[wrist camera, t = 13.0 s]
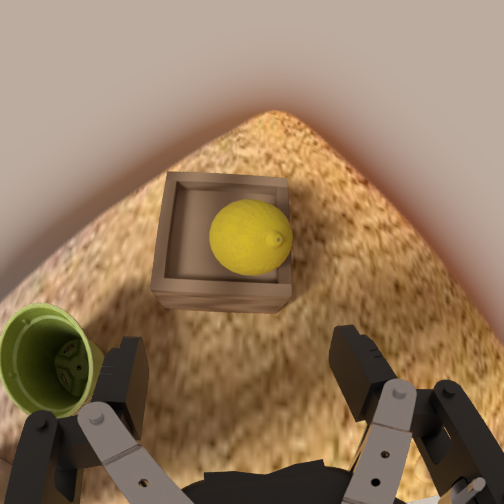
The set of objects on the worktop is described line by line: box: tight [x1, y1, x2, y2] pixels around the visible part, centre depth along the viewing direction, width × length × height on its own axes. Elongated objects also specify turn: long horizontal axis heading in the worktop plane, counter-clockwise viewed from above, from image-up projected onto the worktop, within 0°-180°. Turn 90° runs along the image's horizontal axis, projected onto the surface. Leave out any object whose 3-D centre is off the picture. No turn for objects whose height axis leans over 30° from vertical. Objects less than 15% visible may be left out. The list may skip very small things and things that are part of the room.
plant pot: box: [0, 303, 105, 418], centre depth 23 cm, size 9×9×9 cm
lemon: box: [209, 199, 293, 276], centre depth 24 cm, size 6×6×8 cm
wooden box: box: [150, 171, 292, 314], centre depth 30 cm, size 11×11×8 cm
